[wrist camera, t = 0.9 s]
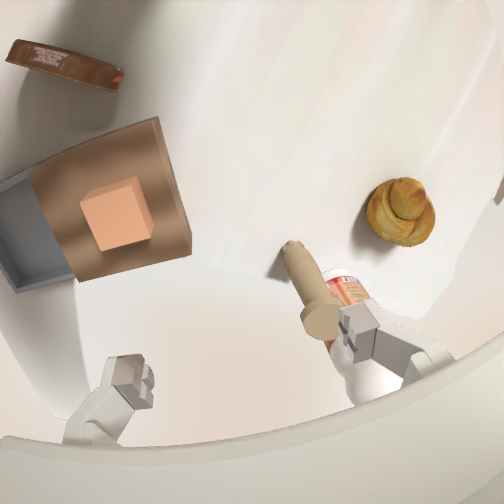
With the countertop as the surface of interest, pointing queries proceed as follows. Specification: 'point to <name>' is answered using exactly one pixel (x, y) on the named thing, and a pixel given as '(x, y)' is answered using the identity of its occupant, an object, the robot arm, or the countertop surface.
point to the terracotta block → (117, 214)
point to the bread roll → (401, 212)
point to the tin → (65, 64)
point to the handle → (312, 293)
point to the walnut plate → (104, 173)
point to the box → (28, 238)
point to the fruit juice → (356, 375)
